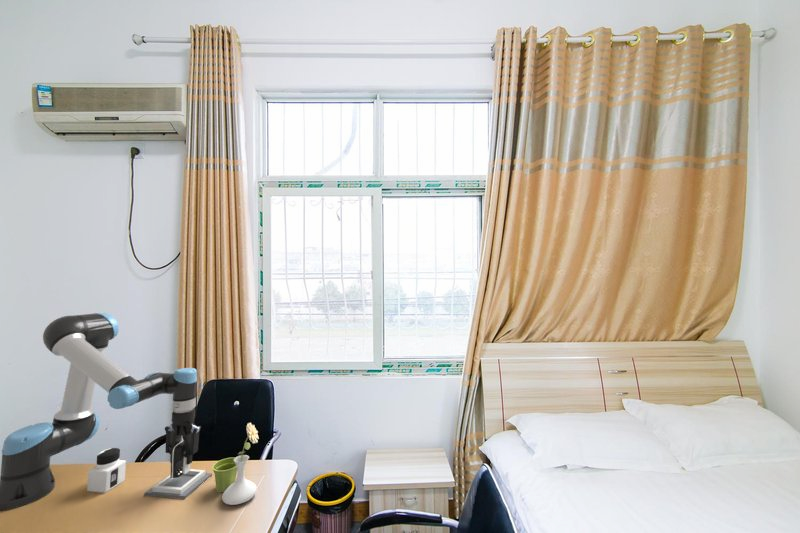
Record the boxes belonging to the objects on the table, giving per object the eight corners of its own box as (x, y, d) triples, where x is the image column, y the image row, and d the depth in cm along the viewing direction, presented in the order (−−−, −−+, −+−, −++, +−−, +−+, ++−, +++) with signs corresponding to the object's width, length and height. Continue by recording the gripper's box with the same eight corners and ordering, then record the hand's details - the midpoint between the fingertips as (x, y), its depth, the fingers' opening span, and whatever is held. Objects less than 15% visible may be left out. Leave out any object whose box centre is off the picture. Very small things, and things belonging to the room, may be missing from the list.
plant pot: (205, 492, 118) (206, 468, 118) (225, 478, 127) (226, 455, 127) (224, 497, 115) (226, 473, 116) (244, 482, 124) (245, 459, 125)
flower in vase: (242, 511, 109) (246, 435, 110) (214, 506, 111) (217, 432, 112) (266, 487, 121) (268, 420, 123) (239, 483, 124) (242, 417, 125)
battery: (179, 479, 119) (181, 447, 120) (169, 479, 119) (170, 447, 119) (191, 468, 126) (192, 438, 126) (181, 468, 126) (183, 438, 126)
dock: (144, 495, 116) (144, 488, 116) (175, 472, 130) (175, 466, 130) (184, 499, 114) (185, 491, 114) (211, 476, 128) (212, 469, 128)
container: (125, 480, 124) (127, 446, 125) (105, 493, 117) (107, 456, 118) (107, 479, 125) (109, 445, 126) (86, 491, 117) (88, 455, 118)
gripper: (155, 412, 121) (151, 475, 119) (197, 414, 119) (194, 479, 118) (171, 404, 128) (168, 464, 127) (211, 407, 127) (208, 468, 125)
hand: (180, 471), depth 122 cm, fingers closed on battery, 4 cm apart
